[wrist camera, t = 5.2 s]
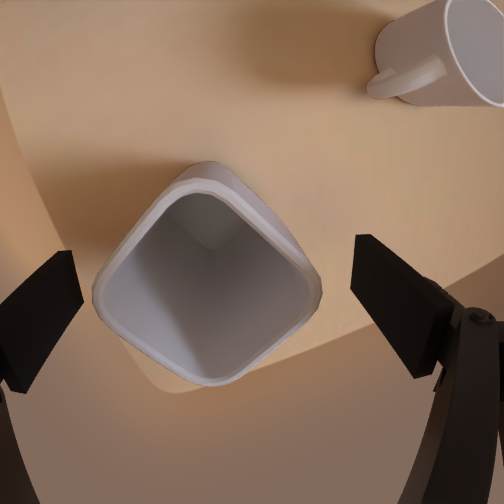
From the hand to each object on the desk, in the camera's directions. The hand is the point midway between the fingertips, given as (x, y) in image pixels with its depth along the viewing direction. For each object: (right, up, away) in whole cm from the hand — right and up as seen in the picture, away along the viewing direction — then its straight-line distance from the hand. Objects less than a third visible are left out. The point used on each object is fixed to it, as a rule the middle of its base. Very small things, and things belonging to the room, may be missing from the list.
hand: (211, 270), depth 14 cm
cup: (-1, +4, +11) cm, 12 cm away
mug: (+14, +17, +8) cm, 23 cm away
